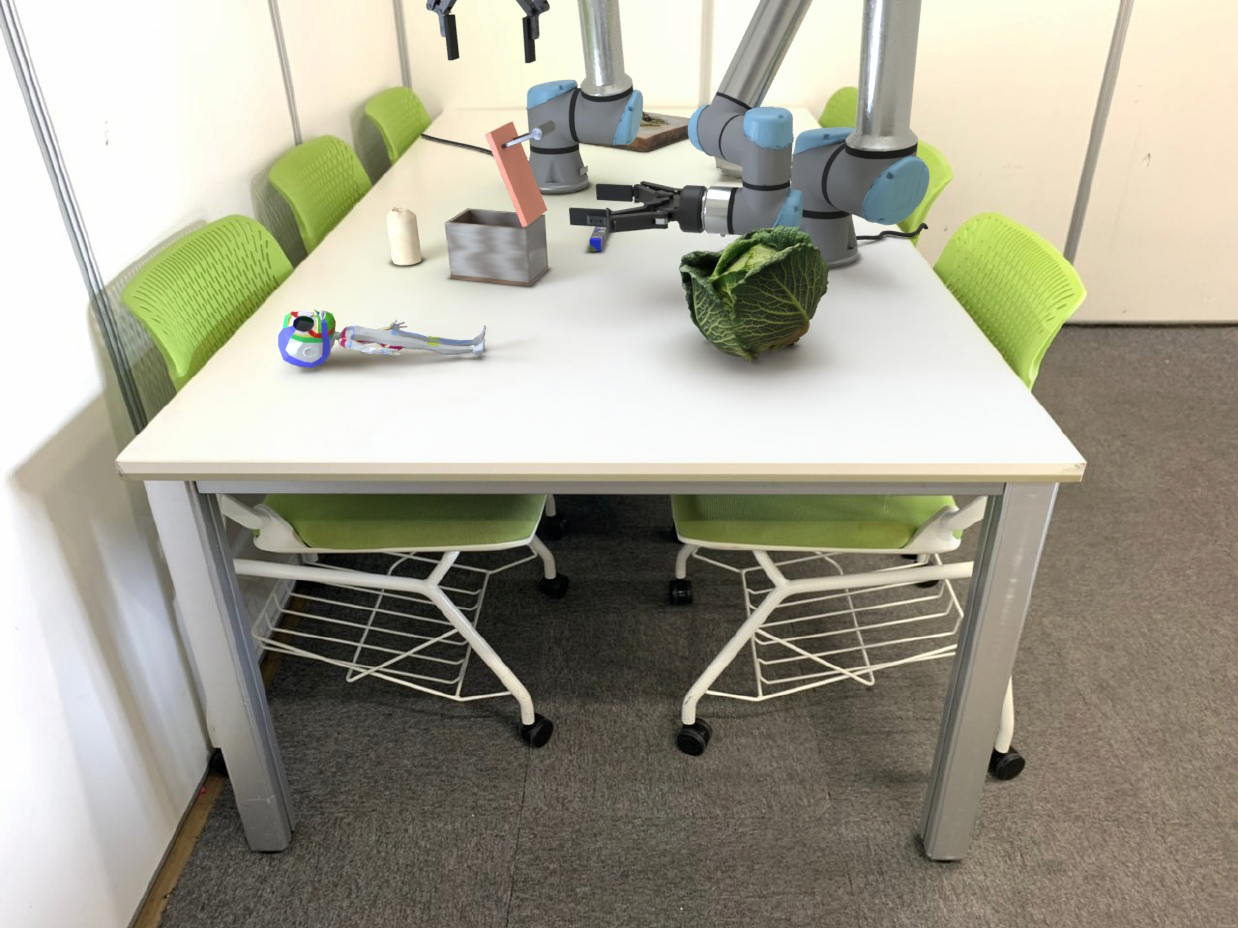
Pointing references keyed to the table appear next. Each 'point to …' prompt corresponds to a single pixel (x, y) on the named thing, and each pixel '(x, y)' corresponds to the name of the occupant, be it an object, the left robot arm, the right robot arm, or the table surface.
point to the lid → (519, 168)
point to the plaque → (657, 132)
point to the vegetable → (755, 290)
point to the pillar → (598, 238)
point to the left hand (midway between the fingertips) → (491, 61)
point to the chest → (496, 247)
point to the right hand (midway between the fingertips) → (583, 203)
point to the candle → (403, 236)
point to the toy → (356, 339)
